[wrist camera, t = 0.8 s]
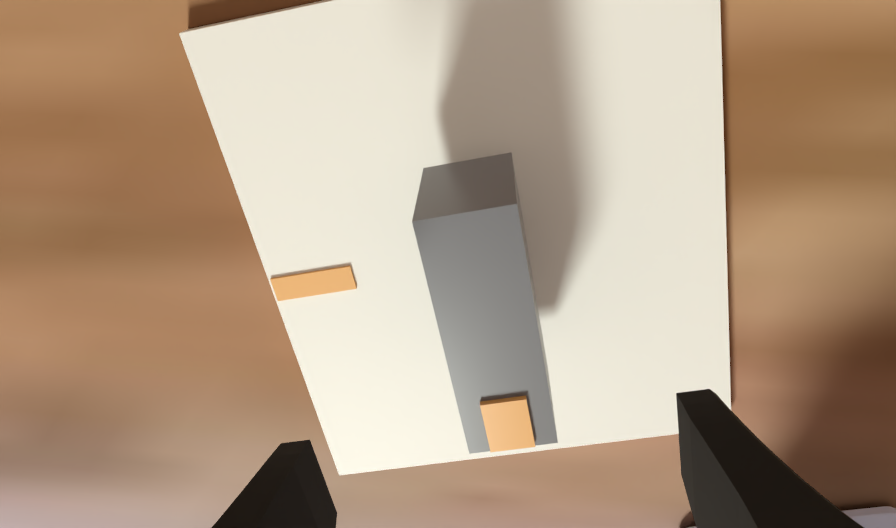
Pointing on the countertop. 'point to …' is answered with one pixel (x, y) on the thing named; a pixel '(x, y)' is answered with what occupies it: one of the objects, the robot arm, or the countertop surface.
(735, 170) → the countertop surface
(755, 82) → the countertop surface
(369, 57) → the board
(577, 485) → the countertop surface
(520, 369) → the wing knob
